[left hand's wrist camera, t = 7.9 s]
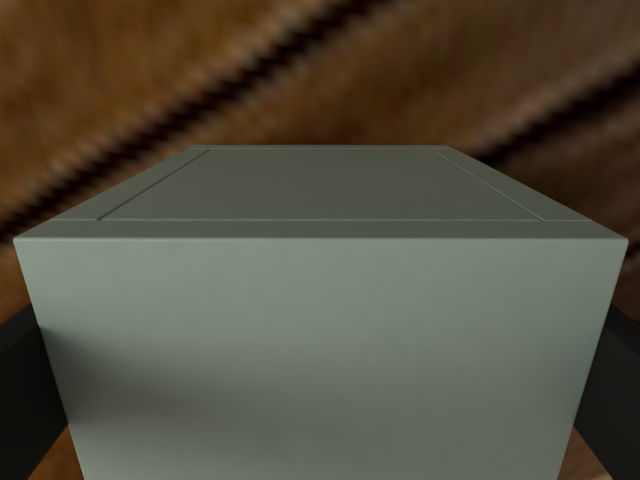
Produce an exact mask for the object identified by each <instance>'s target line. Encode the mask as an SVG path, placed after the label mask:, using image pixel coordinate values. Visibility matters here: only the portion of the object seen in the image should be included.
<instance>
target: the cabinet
mask: <svg viewBox="0 0 640 480" xmlns="http://www.w3.org/2000/svg"><path fill="white" fill-rule="evenodd" d="M13 242H14V245H15V248H16V252H17V255H18V259H19V262H20V265H21V269H22V272H23V275H24V279H25V282H26V285H27V289H28V292H29V295H30V299H31V302H32V305H33V309H34V312H35V315H36V319H37V322H38V325H39V329H40V332H41V335H42V339H43V342H44V345H45V349H46V352H47V356H48V359H49V362H50V366H51V369H52V372H53V376H54V379H55V382H56V386H57V389H58V392H59V396H60V399H61V402H62V406H63V409H64V412H65V416H66V419H67V422H68V426H69V429H70V432H71V436H72V439H73V442H74V446H75V449H76V453H77V456H78V459H79V463H80V466H81V469H82V473H83V476H84V479H85V480H557V478H558V475H559V471H560V468H561V465H562V461H563V458H564V455H565V451H566V448H567V445H568V442H569V438H570V435H571V432H572V428H573V425H574V422H575V418H576V415H577V412H578V408H579V405H580V402H581V399H582V395H583V392H584V389H585V385H586V382H587V379H588V375H589V372H590V369H591V366H592V362H593V359H594V356H595V352H596V349H597V346H598V342H599V339H600V336H601V333H602V329H603V326H604V323H605V319H606V316H607V313H608V309H609V306H610V303H611V299H612V296H613V293H614V290H615V286H616V283H617V280H618V276H619V273H620V270H621V266H622V263H623V260H624V257H625V253H626V250H627V247H628V243H629V240H628V239H627V238H625V237H623V236H621V235H619V234H618V233H616V232H614V231H612V230H610V229H608V228H606V227H604V226H602V225H600V224H598V223H596V222H594V221H593V220H591V219H589V218H587V217H585V216H583V215H581V214H579V213H577V212H576V211H574V210H572V209H570V208H568V207H566V206H564V205H562V204H560V203H558V202H556V201H554V200H552V199H551V198H549V197H547V196H545V195H543V194H541V193H539V192H537V191H535V190H533V189H531V188H529V187H527V186H526V185H524V184H522V183H520V182H518V181H516V180H514V179H512V178H510V177H508V176H506V175H504V174H502V173H501V172H499V171H497V170H495V169H493V168H491V167H489V166H487V165H485V164H483V163H481V162H479V161H477V160H476V159H474V158H472V157H470V156H468V155H466V154H464V153H462V152H460V151H458V150H456V149H454V148H452V147H450V146H448V145H194V146H192V147H190V148H188V149H186V150H184V151H182V152H180V153H178V154H176V155H174V156H172V157H170V158H168V159H166V160H165V161H163V162H161V163H159V164H157V165H155V166H153V167H151V168H149V169H147V170H145V171H143V172H141V173H139V174H137V175H135V176H134V177H132V178H130V179H128V180H126V181H124V182H122V183H120V184H118V185H116V186H114V187H112V188H110V189H108V190H106V191H104V192H103V193H101V194H99V195H97V196H95V197H93V198H91V199H89V200H87V201H85V202H83V203H81V204H79V205H77V206H75V207H73V208H72V209H70V210H68V211H66V212H64V213H62V214H60V215H58V216H56V217H54V218H52V219H51V220H48V221H46V222H44V223H42V224H40V225H38V226H36V227H34V228H32V229H30V230H28V231H26V232H24V233H22V234H20V235H19V236H17V237H15V238H14V239H13Z"/></svg>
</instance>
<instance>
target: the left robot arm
mask: <svg viewBox="0 0 640 480" xmlns="http://www.w3.org/2000/svg"><path fill="white" fill-rule="evenodd" d="M67 425H68V422H67V419H66V416H65V412H64V409H63V406H62V402H61V399H60V396H59V392H58V389H57V386H56V382H55V379H54V376H53V372H52V369H51V366H50V362H49V359H48V356H47V352H46V349H45V345H44V342H43V339H42V335H41V332H40V329H39V325H38V322H37V319H36V315H35V312H34V309H33V305H32V302H31V303H30V304H28V305H27V306H26V307H24V308H23V309H22V310H20V311H19V312H18V313H16V314H15V315H14V316H12V317H11V318H10V319H8V320H7V321H6V322H4V323H2V324H0V480H27V479H28V478H29V476H30V475H31V474H32V472H33V471H34V470H35V468H36V467H37V466H38V464H39V463H40V462H41V460H42V459H43V457H44V456H45V455H46V453H47V452H48V451H49V449H50V448H51V447H52V445H53V444H54V443H55V441H56V440H57V438H58V437H59V436H60V434H61V433H62V432H63V430H64V429H65V428H66V426H67ZM573 426H574V427H575V428H576V430H577V431H578V432H579V434H580V435H581V436H582V438H583V439H584V441H585V442H586V443H587V445H588V446H589V447H590V449H591V450H592V451H593V453H594V454H595V455H596V457H597V458H598V459H599V461H600V462H601V464H602V465H603V466H604V468H605V469H606V470H607V472H608V473H609V474H610V476H611V477H612V478H613V480H640V322H635V321H633V320H632V319H631V318H629V317H628V316H627V315H626V314H624V313H623V312H622V311H620V310H619V309H618V308H616V307H615V306H614V305H612V304H611V303H610V306H609V309H608V313H607V316H606V319H605V323H604V326H603V329H602V333H601V336H600V339H599V342H598V346H597V349H596V352H595V356H594V359H593V362H592V366H591V369H590V372H589V375H588V379H587V382H586V385H585V389H584V392H583V395H582V399H581V402H580V405H579V408H578V412H577V415H576V418H575V422H574V425H573Z"/></svg>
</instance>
